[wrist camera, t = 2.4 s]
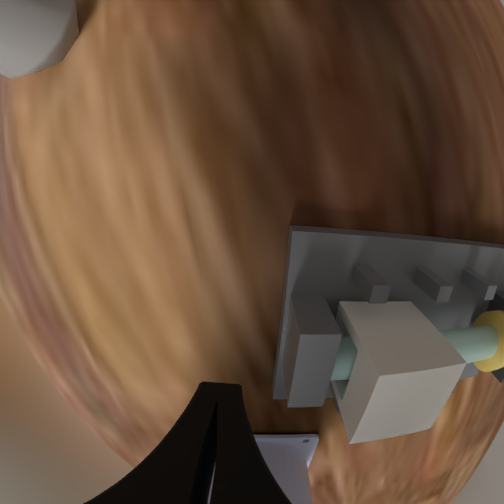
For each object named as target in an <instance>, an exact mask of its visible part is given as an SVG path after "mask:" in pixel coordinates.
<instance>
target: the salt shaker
mask: <svg viewBox="0 0 504 504" xmlns="http://www.w3.org/2000/svg"><path fill="white" fill-rule="evenodd" d="M78 35H79V27H78V19H77V11H76V3H75V0H0V74H2V75H4V76H6V77H8V78H18V77H22V76H25V75H29V74H32V73H35V72H39V71H41V70H43V69H45V68H47V67H50V66H52V65H54V64H56V63H58V62H60V61H62V60H63V58H64V57H65V55H66V54H67V52H68V50H69V49H70V47H71V46H72V44H73V43H74V41H75V40H76V38H77V37H78Z"/></svg>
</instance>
